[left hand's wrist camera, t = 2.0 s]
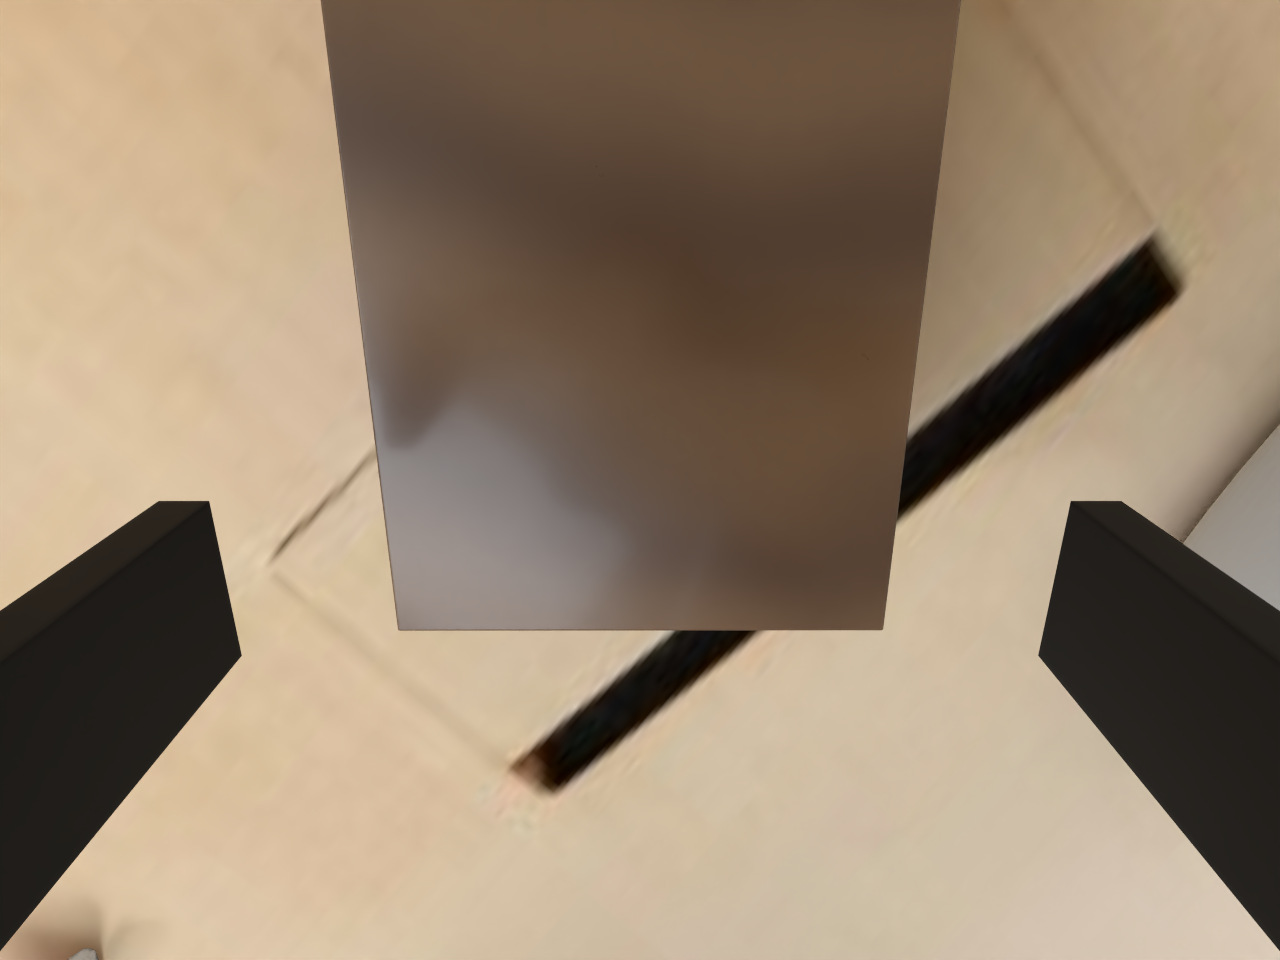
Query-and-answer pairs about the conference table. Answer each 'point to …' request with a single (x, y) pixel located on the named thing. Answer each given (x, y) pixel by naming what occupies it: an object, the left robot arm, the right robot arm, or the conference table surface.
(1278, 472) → the projector
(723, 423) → the cabinet
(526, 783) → the conference table surface
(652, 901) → the conference table surface
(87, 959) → the fish
